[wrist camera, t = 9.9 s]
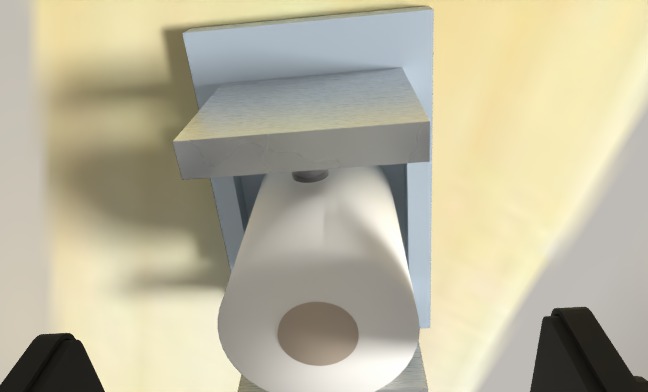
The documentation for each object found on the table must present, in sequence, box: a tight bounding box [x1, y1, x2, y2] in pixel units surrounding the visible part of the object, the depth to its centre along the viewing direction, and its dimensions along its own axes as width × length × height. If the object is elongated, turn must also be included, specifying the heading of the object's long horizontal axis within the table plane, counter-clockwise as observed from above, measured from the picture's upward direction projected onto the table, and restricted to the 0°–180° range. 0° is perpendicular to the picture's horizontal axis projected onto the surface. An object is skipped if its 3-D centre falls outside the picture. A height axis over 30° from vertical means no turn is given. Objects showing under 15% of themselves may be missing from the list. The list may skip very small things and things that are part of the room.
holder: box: [182, 6, 433, 328], centre depth 18 cm, size 13×8×2 cm, turn 5°
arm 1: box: [173, 67, 430, 183], centre depth 14 cm, size 2×6×6 cm, turn 95°
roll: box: [218, 165, 420, 392], centre depth 15 cm, size 5×5×7 cm
